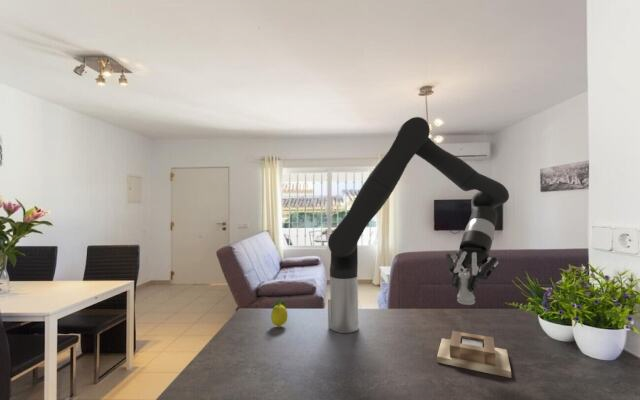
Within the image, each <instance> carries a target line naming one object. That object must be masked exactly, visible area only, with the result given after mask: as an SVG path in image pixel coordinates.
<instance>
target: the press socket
mask: <svg viewBox="0 0 640 400" xmlns="http://www.w3.org/2000/svg"><path fill="white" fill-rule="evenodd" d="M450 336H451V337H450V338H449V339H448V338H443V337H442V338H441V341H440V345H439V348H438V350H437V351H438V352H437V356H436V362H437V363H438V364H444V365H449V366H453V367H457V368H463V369H467V370H471V371H477V372H482V373H486V374H490V375H496V376H501V377H504V378H510V379H512V370H511V364H510V360H509V355H508V350H507V348H500V347H495V342H494V341H495V339H494V337H493V336H486V335H480V334H475V333H468V332H461V331H456V330H452V331H451V335H450ZM462 338H464V339H470V340H476V341H482V342H483V347H478V346H473V345H467V344H462Z"/></svg>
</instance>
